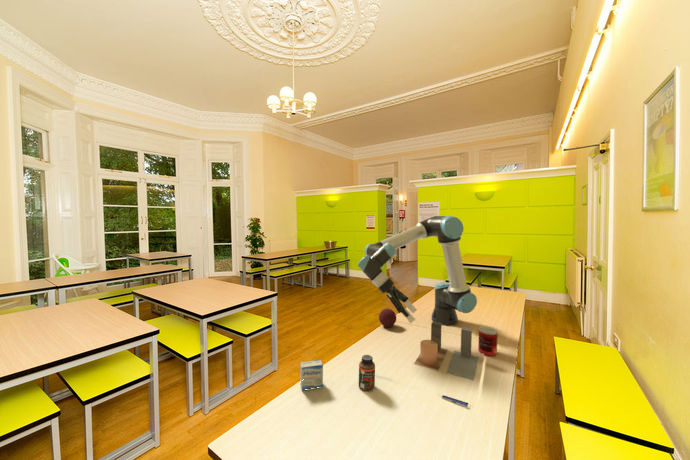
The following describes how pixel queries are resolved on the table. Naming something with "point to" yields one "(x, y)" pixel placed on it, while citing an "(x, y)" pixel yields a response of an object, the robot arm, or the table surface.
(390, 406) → the table surface
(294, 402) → the table surface
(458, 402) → the hard drive
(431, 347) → the peach capsule shape
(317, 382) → the medicine box
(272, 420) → the table surface
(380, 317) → the decorative ball
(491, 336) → the canned food
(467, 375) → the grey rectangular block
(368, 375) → the supplement bottle
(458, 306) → the robot arm
